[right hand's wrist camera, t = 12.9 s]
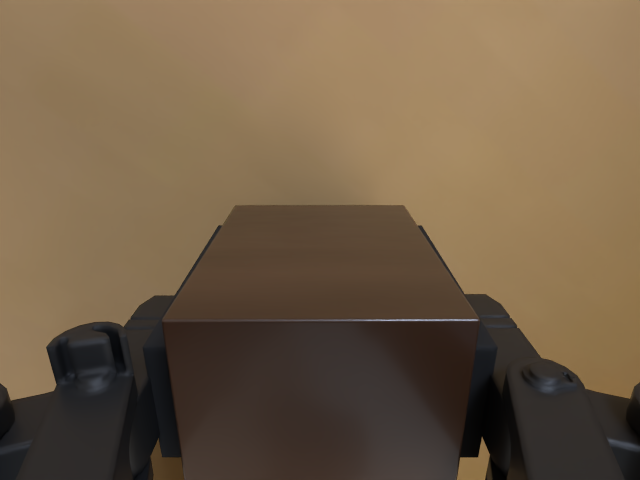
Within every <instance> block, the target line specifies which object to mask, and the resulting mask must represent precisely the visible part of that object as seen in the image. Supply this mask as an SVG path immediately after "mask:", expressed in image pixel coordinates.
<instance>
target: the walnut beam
mask: <svg viewBox="0 0 640 480" xmlns="http://www.w3.org/2000/svg"><path fill="white" fill-rule="evenodd" d="M479 325H480V319H479V317H478V316H477V314H476V313H475V311H474V310H473V308H472V307H471V305H470V304H469V302H468V301H467V299H466V298H465V296H464V295H463V293H462V292H461V290H460V289H459V287H458V286H457V284H456V283H455V281H454V280H453V278H452V277H451V275H450V274H449V272H448V271H447V269H446V268H445V266H444V265H443V263H442V262H441V260H440V259H439V257H438V256H437V254H436V253H435V251H434V250H433V248H432V247H431V245H430V244H429V242H428V241H427V239H426V238H425V236H424V235H423V233H422V232H421V230H420V229H419V227H418V226H417V224H416V223H415V221H414V220H413V218H412V217H411V215H410V214H409V212H408V211H407V209H406V208H405V206H403V205H313V206H235V207H234V208H233V210H232V211H231V213H230V215H229V216H228V218H227V219H226V221H225V222H224V224H223V225H222V227H221V229H220V230H219V232H218V233H217V235H216V236H215V238H214V239H213V241H212V243H211V244H210V246H209V247H208V249H207V250H206V252H205V254H204V255H203V257H202V258H201V260H200V261H199V263H198V264H197V266H196V268H195V269H194V271H193V272H192V274H191V275H190V277H189V278H188V280H187V282H186V283H185V285H184V286H183V288H182V289H181V291H180V292H179V294H178V296H177V297H176V299H175V300H174V302H173V303H172V305H171V306H170V308H169V310H168V311H167V313H166V314H165V316H164V317H163V319H162V327H163V334H164V341H165V348H166V355H167V362H168V369H169V376H170V383H171V390H172V396H173V403H174V410H175V417H176V424H177V431H178V438H179V445H180V452H181V459H182V466H183V473H184V480H457V474H458V467H459V461H460V454H461V447H462V440H463V433H464V427H465V420H466V413H467V406H468V399H469V393H470V386H471V379H472V372H473V365H474V359H475V352H476V345H477V338H478V331H479Z"/></svg>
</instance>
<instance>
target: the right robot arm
mask: <svg viewBox="0 0 640 480" xmlns="http://www.w3.org/2000/svg"><path fill="white" fill-rule="evenodd" d="M221 227H222V226H218V227H217V229H216V231H215V232H214V234H213V235H212V237H211V239H210V240H209V242H208V243H207V245H206V247H205V248H204V250H203V251H202V253H201V254H200V256H199V258H198V259H197V261H196V262H195V264H194V266H193V267H192V269H191V270H190V272H189V274H188V275H187V277H186V278H185V280H184V282H183V283H182V285H181V286H180V288H179V290H178V291H177V293H176V294H175V296H154V297H152V298H151V299H149V300H147V301H146V302H144V303H143V304H141V305H140V306H139V307H138V308H137V310H136V311H135V312H134V314H133V315H132V316H131V320H128V322H127V323H126V325H125V326H124V328H123V327H122V326H121V325H120V324H116V323H112V322H93V323H89V324H84V325H80V326H77V327H75V328H72V329H70V330H67V331H65V332H63V333H62V334H60V335H59V336H57V337H56V338H54V339H53V340H52V341H51V342H50V343H49V345H48V346H47V347H46V348H47V352H48V355H49V359H50V363H51V366H52V370H53V373H54V377H55V381H56V384H57V385H56V388H55V390H54V391H52V392H49V393H45V394H40V395H36V396H31V397H26V398H21V399H17V400H12V401H11V400H10V397H9V394H8V391H7V388H5V387H4V386H3V385H1V384H0V480H153V468H152V463H151V457H150V456H151V454H152V452H153V449H154V447H155V445H156V442H157V440H158V438H159V442H160V448H161V453H162V457H181V452H180V445H179V438H178V431H177V424H176V417H175V410H174V403H173V396H172V390H171V383H170V376H169V369H168V362H167V355H166V348H165V341H164V334H163V327H162V319H163V317H164V316H165V314H166V313H167V311H168V310H169V308H170V306H171V305H172V303H173V302H174V300H175V299H176V297H177V296H178V294H179V292H180V291H181V289H182V288H183V286H184V285H185V283H186V282H187V280H188V278H189V277H190V275H191V274H192V272H193V271H194V269H195V268H196V266H197V264H198V263H199V261H200V260H201V258H202V257H203V255H204V254H205V252H206V250H207V249H208V247H209V246H210V244H211V243H212V241H213V239H214V238H215V236H216V235H217V233H218V232H219V230H220V229H221ZM418 227H419V229H420V230H421V232H422V233H423V235H424V236H425V238H426V239H427V241H428V242H429V244H430V245H431V247H432V248H433V250H434V251H435V253H436V254H437V256H438V257H439V259H440V260H441V262H442V263H443V265H444V266H445V268H446V269H447V271H448V272H449V274H450V275H451V277H452V278H453V280H454V281H455V283H456V284H457V286H458V287H459V289H460V290H461V292H462V293H463V295H464V296H465V298H466V299H467V301H468V302H469V304H470V305H471V307H472V308H473V310H474V311H475V313H476V314H477V316H478V317H479V319H480V325H479V331H478V338H477V345H476V352H475V359H474V365H473V372H472V379H471V386H470V393H469V399H468V406H467V413H466V420H465V427H464V433H463V440H462V447H461V454H460V457H478V455H479V449H480V444H481V438H482V437H483V439H484V442H485V444H486V446H487V449H488V451H489V453H490V457H489V463H488V468H487V473H486V478H485V480H640V383H638V384H637V385H636V386H635V387H634V389H633V392H632V395H631V398H630V399H628V398H623V397H618V396H614V395H609V394H604V393H599V392H595V391H591V390H587V389H585V387H584V385H583V383H582V382H581V381H580V379H579V378H578V376H577V375H576V374H574V373H573V372H572V371H570V370H569V369H568V368H566V367H565V366H562V365H560V364H558V363H556V362H554V361H551V360H547V359H543V358H541V357H540V356H539V354H538V353H537V352H536V350H535V349H534V348H533V346H532V345H531V344H530V342H529V341H528V340H527V338H526V337H525V336H524V334H523V333H522V332H521V330H520V329H519V328H517V325H516V324H515V322H514V321H513V320H512V318H510V316H509V314H508V313H507V312H506V310H505V309H504V308H503V306H502V305H501V304H500V303H498V302H497V301H495V300H494V299H492V298H490V297H489V296H487V295H486V294H464V292H463V291H462V289H461V288H460V286H459V284H458V283H457V281H456V280H455V278H454V277H453V275H452V273H451V272H450V270H449V269H448V267H447V265H446V264H445V262H444V261H443V259H442V257H441V256H440V254H439V253H438V251H437V249H436V248H435V246H434V245H433V243H432V241H431V240H430V238H429V237H428V235H427V233H426V232H425V230H424V229H423V227H422V226H418Z"/></svg>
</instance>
